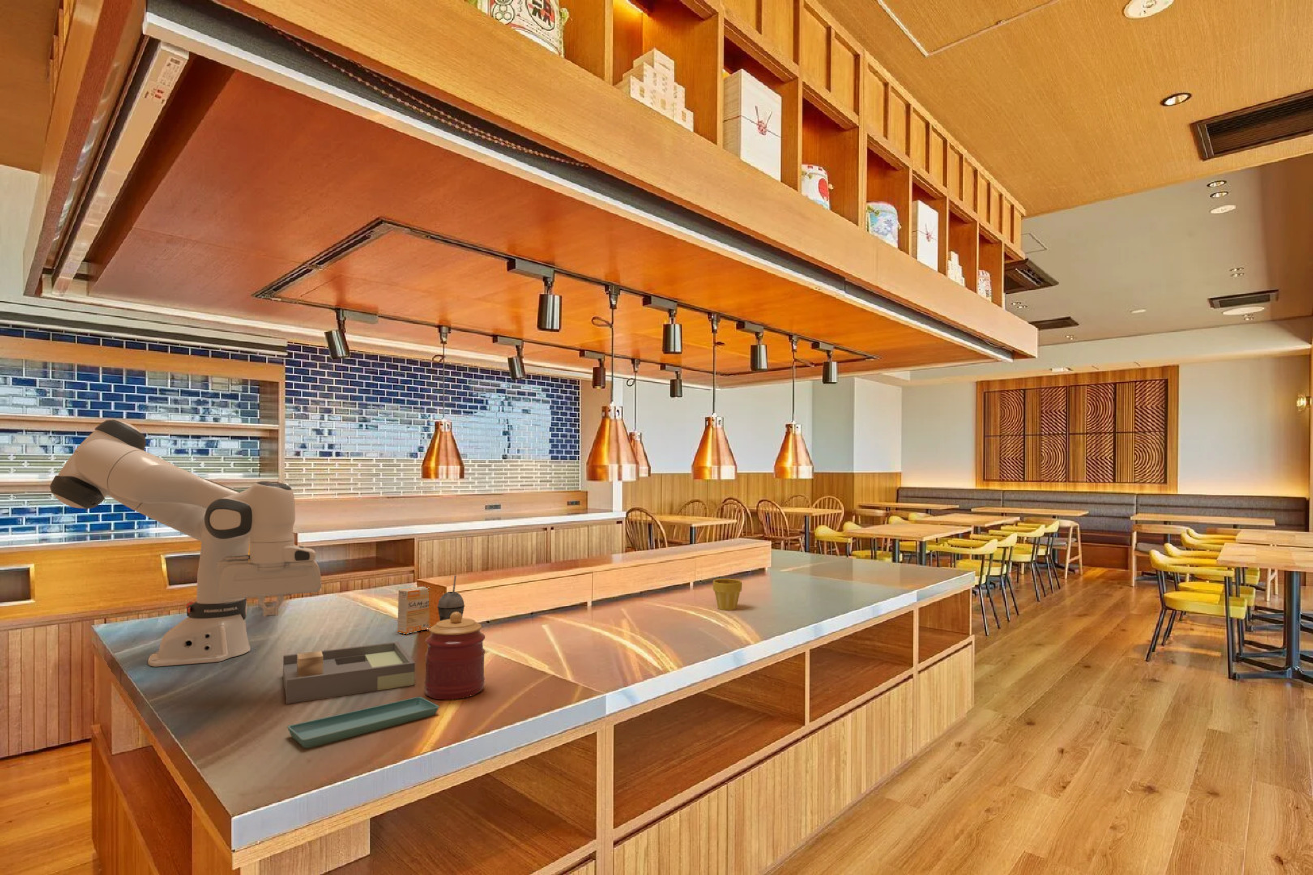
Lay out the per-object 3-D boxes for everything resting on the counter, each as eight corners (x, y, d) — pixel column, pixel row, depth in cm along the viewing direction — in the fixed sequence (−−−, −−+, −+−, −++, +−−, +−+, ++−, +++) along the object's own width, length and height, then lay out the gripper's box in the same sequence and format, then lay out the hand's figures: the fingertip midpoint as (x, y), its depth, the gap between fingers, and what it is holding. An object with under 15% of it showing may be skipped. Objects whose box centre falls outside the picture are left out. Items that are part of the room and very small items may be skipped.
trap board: (286, 704, 146) (287, 680, 146) (282, 676, 164) (283, 655, 165) (414, 684, 159) (414, 662, 159) (397, 661, 178) (397, 641, 178)
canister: (427, 704, 146) (428, 620, 147) (421, 686, 158) (423, 608, 158) (489, 696, 151) (490, 615, 152) (479, 679, 163) (480, 604, 164)
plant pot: (743, 611, 240) (743, 583, 241) (713, 611, 240) (713, 583, 241) (740, 605, 251) (740, 578, 251) (711, 605, 251) (711, 578, 251)
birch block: (298, 677, 154) (298, 659, 154) (296, 671, 159) (297, 653, 159) (322, 674, 157) (323, 656, 157) (320, 668, 161) (321, 651, 161)
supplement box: (406, 635, 205) (406, 591, 205) (396, 633, 208) (397, 589, 208) (430, 630, 211) (430, 587, 212) (420, 628, 214) (421, 585, 215)
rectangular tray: (419, 705, 146) (420, 693, 146) (440, 717, 140) (440, 704, 140) (285, 739, 128) (286, 725, 128) (301, 754, 122) (302, 739, 122)
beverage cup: (431, 648, 190) (432, 575, 191) (455, 643, 195) (456, 572, 196) (445, 653, 185) (446, 578, 186) (469, 648, 191) (470, 575, 191)
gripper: (216, 558, 147) (214, 623, 146) (322, 552, 157) (321, 613, 156) (218, 555, 152) (216, 618, 152) (320, 549, 162) (319, 608, 162)
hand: (270, 615), depth 154 cm, fingers closed
